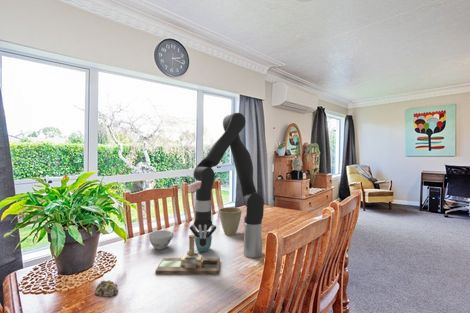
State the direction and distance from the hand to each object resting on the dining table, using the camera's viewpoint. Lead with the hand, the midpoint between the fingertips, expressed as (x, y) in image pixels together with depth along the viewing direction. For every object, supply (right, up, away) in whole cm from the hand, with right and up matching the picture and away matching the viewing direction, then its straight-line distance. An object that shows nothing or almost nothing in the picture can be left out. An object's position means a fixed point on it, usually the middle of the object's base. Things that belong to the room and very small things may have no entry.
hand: (202, 245), depth 119 cm
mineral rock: (-35, -11, -20) cm, 42 cm away
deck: (-6, -10, 0) cm, 12 cm away
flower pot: (-3, -10, +20) cm, 23 cm away
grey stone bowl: (-26, -9, +24) cm, 36 cm away
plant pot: (+12, -9, +48) cm, 50 cm away
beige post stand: (-5, -8, 0) cm, 10 cm away
